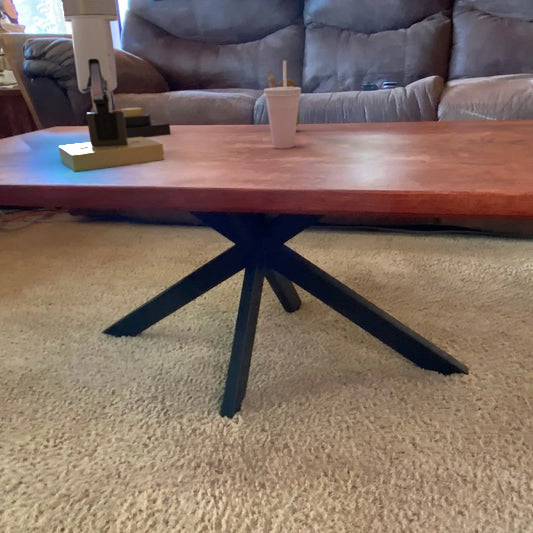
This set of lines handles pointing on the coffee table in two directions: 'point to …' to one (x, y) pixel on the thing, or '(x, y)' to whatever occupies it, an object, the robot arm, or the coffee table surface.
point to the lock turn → (120, 126)
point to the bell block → (145, 127)
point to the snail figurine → (289, 84)
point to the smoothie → (283, 112)
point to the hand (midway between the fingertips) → (109, 137)
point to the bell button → (132, 112)
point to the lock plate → (110, 154)
